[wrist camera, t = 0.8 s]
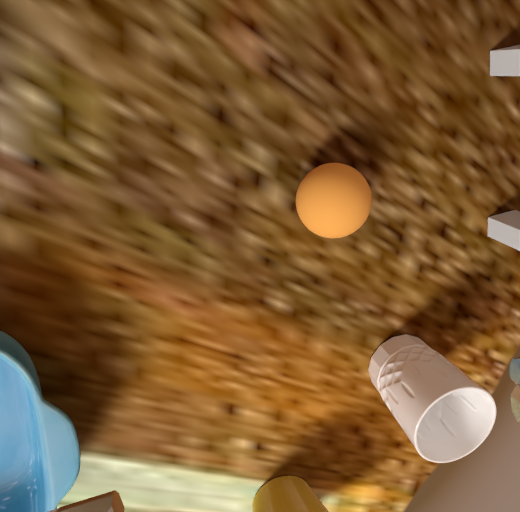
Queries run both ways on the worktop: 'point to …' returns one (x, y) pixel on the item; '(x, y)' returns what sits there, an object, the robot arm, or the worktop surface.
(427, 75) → the worktop surface
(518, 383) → the robot arm
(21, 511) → the casserole dish
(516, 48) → the bridge
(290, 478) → the plant pot
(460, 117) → the worktop surface
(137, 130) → the worktop surface
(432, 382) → the white cup
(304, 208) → the ball
